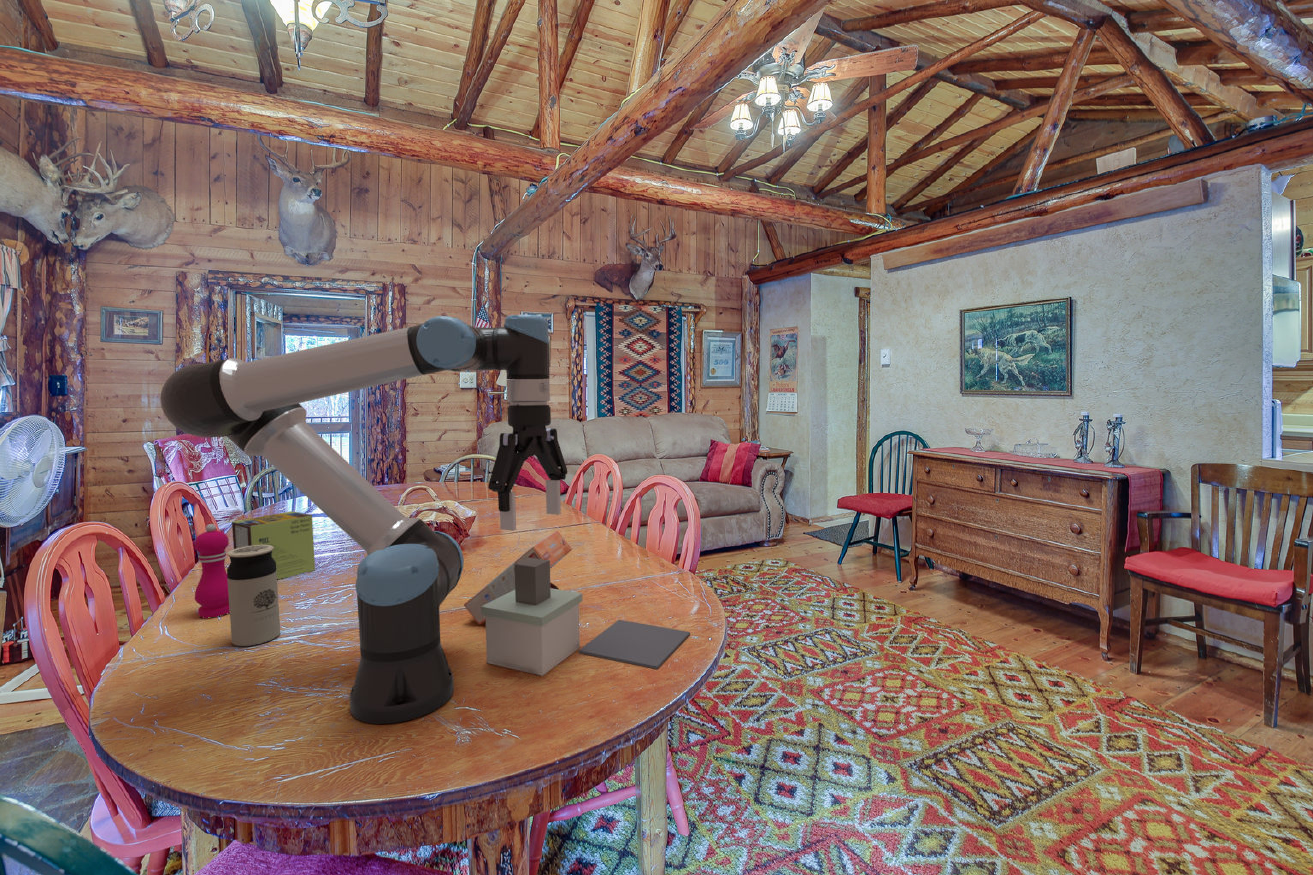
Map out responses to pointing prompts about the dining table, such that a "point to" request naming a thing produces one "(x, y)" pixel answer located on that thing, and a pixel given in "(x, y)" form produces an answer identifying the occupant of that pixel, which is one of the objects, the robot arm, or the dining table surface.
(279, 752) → the dining table surface
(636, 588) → the dining table surface
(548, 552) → the cracker box
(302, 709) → the dining table surface
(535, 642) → the storage box
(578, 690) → the dining table surface
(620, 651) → the mat
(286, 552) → the protein box
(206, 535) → the pepper mill
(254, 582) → the travel mug
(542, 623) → the lid
